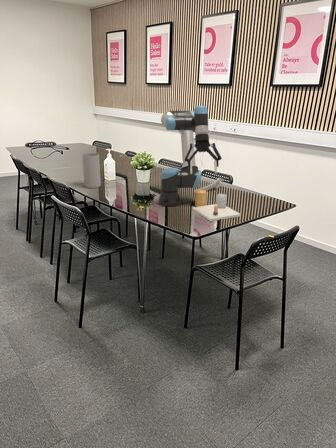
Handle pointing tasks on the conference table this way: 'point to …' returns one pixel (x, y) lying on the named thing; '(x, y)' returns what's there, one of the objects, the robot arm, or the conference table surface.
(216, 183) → the wrench
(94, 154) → the cylinder vase
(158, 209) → the conference table surface
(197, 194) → the wire cap
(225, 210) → the plate
